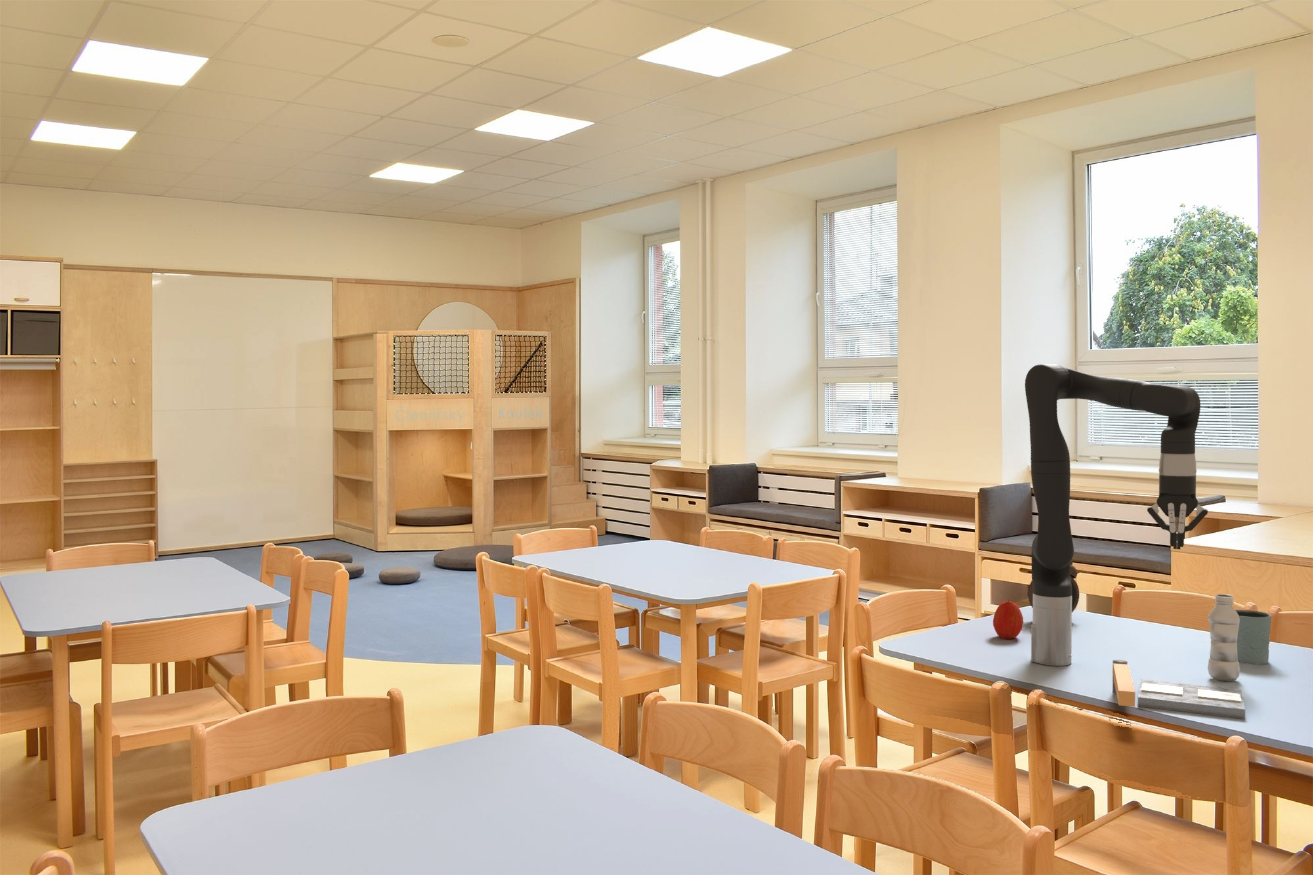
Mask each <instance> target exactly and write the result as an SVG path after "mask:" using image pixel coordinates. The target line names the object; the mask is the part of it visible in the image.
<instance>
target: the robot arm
mask: <svg viewBox="0 0 1313 875" xmlns="http://www.w3.org/2000/svg"><path fill="white" fill-rule="evenodd" d="M1025 376H1026V377H1025V379H1024V389H1025V399H1026V406H1027V412H1028V420H1029V440H1030V441H1029V442H1030V474H1031V476H1030V478H1031V485H1032V490H1033V494H1034V499H1035V503H1036V509H1037V519H1038V520H1037V535H1036V536H1035V537H1034V538H1033V540H1032V543H1031V581H1032V584H1033V608H1032V623H1031V627H1030V628H1031V629H1030V630H1031V631H1030V634H1031V636H1030V639H1031V640H1030V641H1031V642H1030V645H1031V646H1030V662H1031V663H1037V664H1041V665H1046V666H1055V667H1056V666H1057V667H1058V666H1060V667H1061V666H1068V665H1071V664H1072V656H1073V653H1072V650H1073V649H1072V648H1073V647H1072V646H1073V645H1072V644H1073V643H1072V642H1073V641H1072V638H1073V637H1072V634H1073V632H1072V631H1073V629H1072V627H1073V626H1072V625H1073V624H1072V623H1073V612H1072V584H1071V578H1070V562H1072V561H1073V557H1074V554H1075V547H1074V540H1073V536H1072V529H1071V520H1070V503H1071V502H1070V499H1071V457H1070V450H1069V447H1068V444H1067V441H1066V439H1065V436H1064V435H1063V432H1062V429H1061V427H1060V424H1059V419H1058V401H1059V400H1087V401H1092V402H1097V403H1100V404H1104V405H1106V406H1110V407H1115V408H1120V409H1127V410H1131V411H1138V412H1146V413H1147V412H1148V413H1151V414H1154V415H1159V416H1163V417H1167V418H1168V419H1167V424H1166V427H1165V428H1164V429H1163V430H1162V431H1161V433H1160V434H1161V435H1160V458H1159V461H1158V462H1159V464H1158V465H1159V467H1158V475H1159V476H1158V497H1157V499H1156V502H1155V503H1154V504H1152V505H1151V506H1149V507H1147V509H1146V511H1147V513H1148V514H1149V515H1150V516H1151V517H1152V519H1153V520H1154V521H1155V522H1156V523H1157V525H1158V526H1159V527H1160V528H1161V529H1162V530H1164V531H1168V532H1169V546H1170V547H1173V548H1172V549H1173V550H1181V548H1183V547H1184V545H1185V534H1186V533H1187V532H1192V531H1193V530H1194V529H1195V528H1196V527H1197V526H1198V524H1199V523H1200V522H1201V521H1202V520H1203V519H1204V518H1206V516H1207V515H1208V513H1209V512H1208V510H1209V509H1207V508H1204V507H1203V506H1201V505H1200V504H1199V501H1198V498H1197V460H1196V431H1197V428H1198V425H1199V424H1198V423H1199V420H1200V419H1199V418H1200V413H1201V399H1200V395H1199V393H1198V392H1197V391H1196V390H1195V389H1194V388H1192V387H1190V386H1187V385H1186V386H1185V385H1183V386H1182V385H1167V384H1166V385H1164V384H1157V383H1154V384H1153V383H1151V382H1150V381H1149V382H1147V381H1144V380H1137V379H1132V378H1131V379H1130V378H1124V377H1123V378H1121V377H1114V376H1113V377H1111V376H1102V375H1101V376H1100V375H1094V374H1089V373H1086V372H1082V371H1079V370H1074V369H1073V368H1069V367H1067V366H1063V365H1061V364H1057V363H1040V364H1036V365H1033V366H1032V367H1031V368H1030V369H1029V370H1028V372H1027V374H1026V375H1025ZM1159 509H1160V510H1161V511H1162V513H1163V514H1164V516H1165V517H1168V523H1166V522H1165V521H1164V520H1163V518H1162V517H1161V516H1160V515H1159V512H1160V510H1159ZM1194 510H1196V511H1195V515H1196V516H1195V517H1194V518H1193V519H1192V520H1191V521H1190V522H1189V523H1188V524H1186V518H1188V517H1189V516H1190V515H1191V514H1192V513H1193V512H1194ZM1176 518H1178V529H1177V527H1176ZM1185 524H1186V525H1185Z"/></svg>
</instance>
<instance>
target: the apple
mask: <svg viewBox="0 0 1313 875" xmlns="http://www.w3.org/2000/svg"><path fill="white" fill-rule="evenodd" d="M992 626H993V629H994V632H995V633H996V634H997V636H998V638H1001V639H1002V640H1003V639H1004V640H1012V639H1015V638H1017V637H1018V636H1019V635H1020V634H1021V632H1022V629H1023V627H1024V617H1023V613H1022V611H1021V609H1020V607H1019V605H1018V604H1016V603H1015V602H1013V601H1010V600H1009V599H1008V601H1002V602H1001V603H1000V604H999V605H998V606H997V607H996V610H995V612H994V614H993V620H992Z"/></svg>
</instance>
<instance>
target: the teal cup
mask: <svg viewBox="0 0 1313 875" xmlns="http://www.w3.org/2000/svg"><path fill="white" fill-rule="evenodd" d="M1235 611H1236V612H1237V614H1238V615H1239V618H1240V623H1239V629H1238V635H1237V655H1238V662H1239V664H1240V663H1241V664H1248V665H1266V664H1268V663H1269V658H1270V650H1269V648H1270V643H1271V641H1270V635H1271V626H1272V624H1271V623H1272V614H1270V613H1268V612H1266V611H1265V612H1264V611H1258V610H1248V609H1235Z"/></svg>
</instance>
